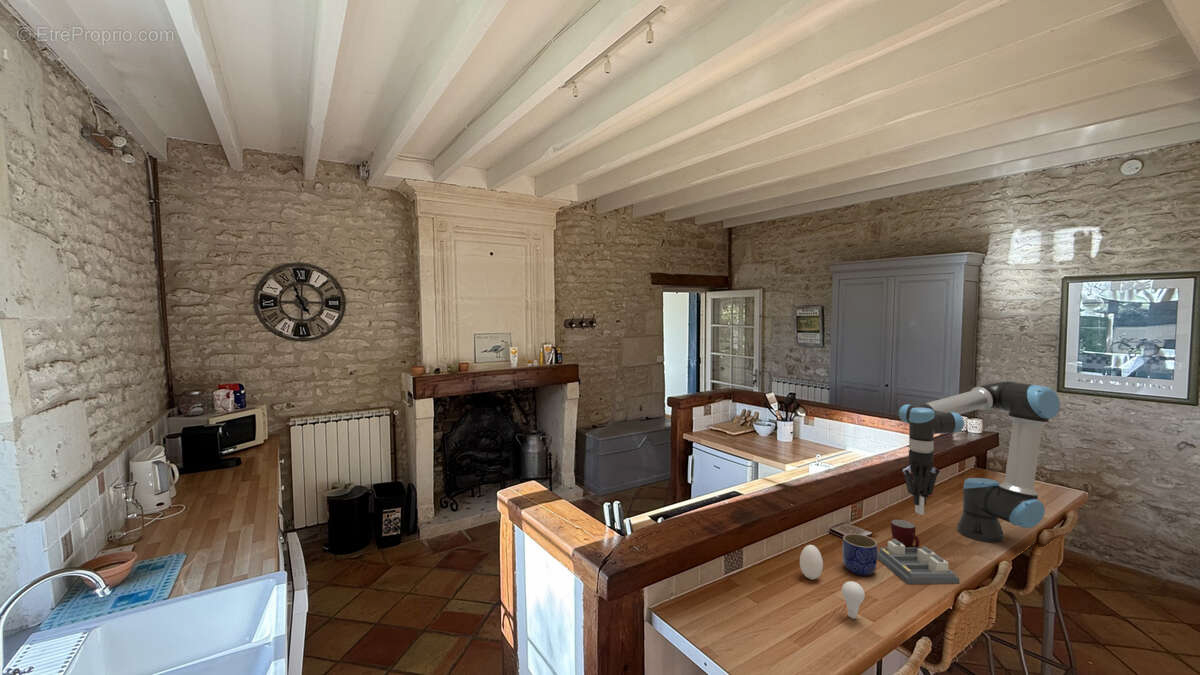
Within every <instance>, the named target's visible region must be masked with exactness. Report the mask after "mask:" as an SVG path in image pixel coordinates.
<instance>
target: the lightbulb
mask: <svg viewBox="0 0 1200 675" xmlns="http://www.w3.org/2000/svg"><path fill="white" fill-rule="evenodd" d="M841 593H842V596H843V599H844V600H845V603H846V609H847V615H848V617H849V618H850V619H854V620H855V619H857V618H858V613H859V610H860V606H861V604H862V602H864V600H865V597H866V596H865V595H866V594H865V589H863V587H862V585H860V584H859V583H858V582H856V581H852V580H851V581H850V580H849V581H846V582H845V583H843V585H842V586H841Z"/></svg>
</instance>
